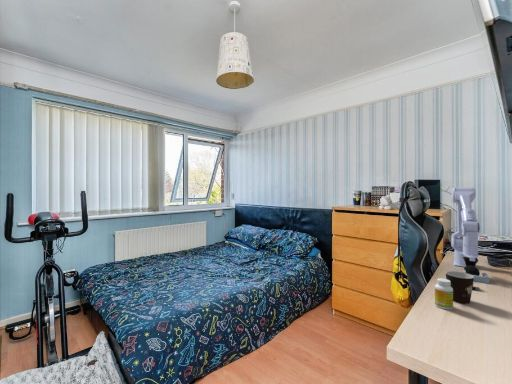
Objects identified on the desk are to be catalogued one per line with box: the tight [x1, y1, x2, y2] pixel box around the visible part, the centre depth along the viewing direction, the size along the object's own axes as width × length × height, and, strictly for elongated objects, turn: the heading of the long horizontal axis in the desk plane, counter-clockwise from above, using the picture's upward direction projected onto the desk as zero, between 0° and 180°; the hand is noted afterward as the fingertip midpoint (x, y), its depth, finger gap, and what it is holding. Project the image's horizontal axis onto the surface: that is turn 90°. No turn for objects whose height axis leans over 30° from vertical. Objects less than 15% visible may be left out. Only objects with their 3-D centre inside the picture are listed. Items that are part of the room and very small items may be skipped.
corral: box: [455, 268, 490, 284], centre depth 122 cm, size 8×11×2 cm
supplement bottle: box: [434, 277, 454, 310], centre depth 92 cm, size 5×5×10 cm
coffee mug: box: [445, 270, 475, 305], centre depth 98 cm, size 12×9×10 cm
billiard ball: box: [462, 266, 481, 276], centre depth 122 cm, size 6×6×6 cm
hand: (470, 272), depth 126 cm, fingers closed
